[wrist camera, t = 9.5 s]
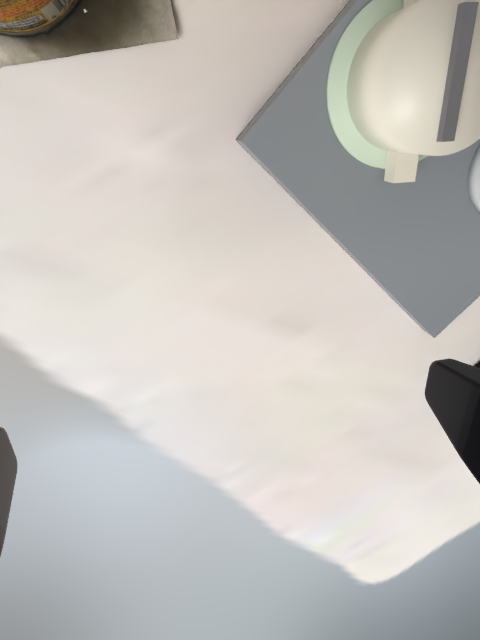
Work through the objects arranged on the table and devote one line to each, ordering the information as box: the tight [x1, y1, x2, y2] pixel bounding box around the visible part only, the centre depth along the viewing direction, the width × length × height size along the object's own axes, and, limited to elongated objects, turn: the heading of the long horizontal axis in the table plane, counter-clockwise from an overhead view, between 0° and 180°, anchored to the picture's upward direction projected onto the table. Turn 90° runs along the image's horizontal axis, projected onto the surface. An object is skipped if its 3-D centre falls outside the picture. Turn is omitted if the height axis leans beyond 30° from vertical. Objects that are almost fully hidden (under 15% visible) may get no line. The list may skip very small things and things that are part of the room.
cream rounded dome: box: [347, 0, 480, 183], centre depth 15 cm, size 7×5×3 cm
